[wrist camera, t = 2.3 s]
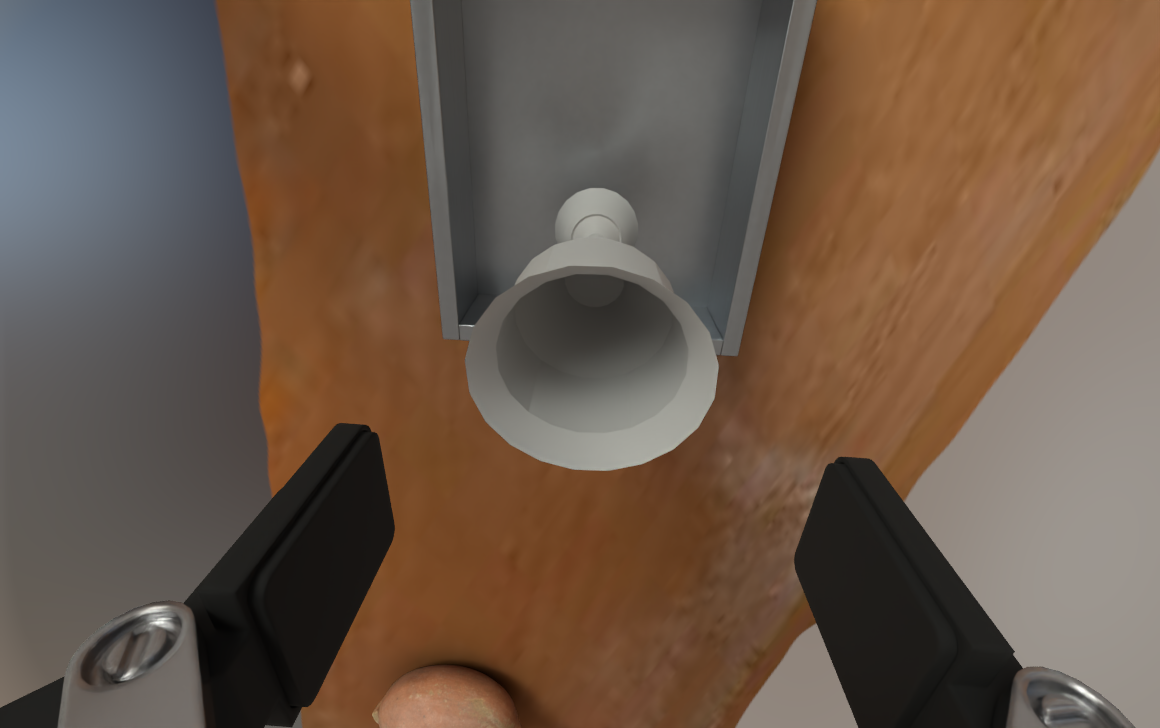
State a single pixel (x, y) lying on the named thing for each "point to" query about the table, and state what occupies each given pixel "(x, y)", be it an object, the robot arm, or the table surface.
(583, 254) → the chalice
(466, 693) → the ceramic jug
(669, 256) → the grey rectangular tray
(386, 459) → the table surface
